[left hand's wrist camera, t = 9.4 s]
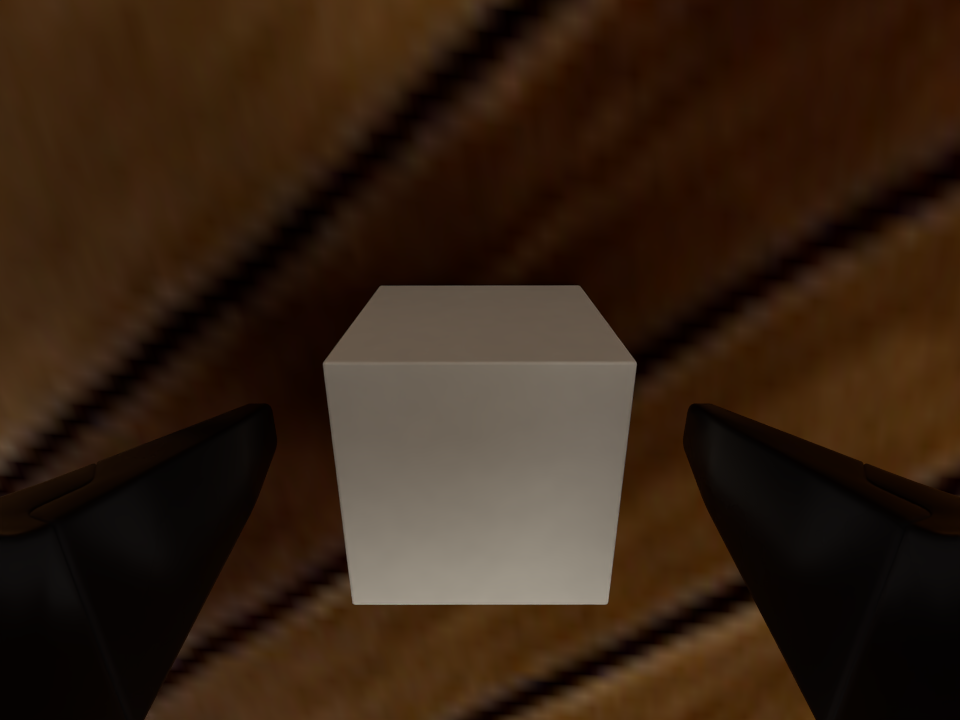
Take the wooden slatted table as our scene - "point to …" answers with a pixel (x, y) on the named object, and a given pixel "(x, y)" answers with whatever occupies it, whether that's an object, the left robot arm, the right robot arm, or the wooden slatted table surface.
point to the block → (479, 445)
